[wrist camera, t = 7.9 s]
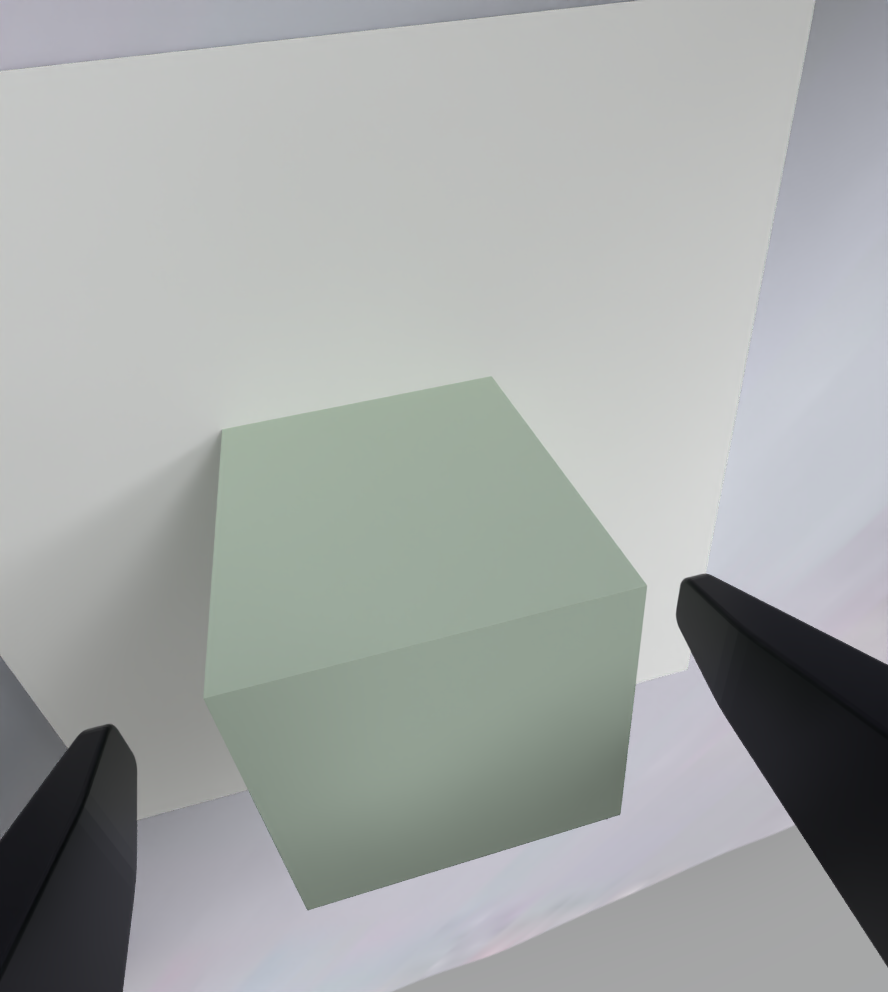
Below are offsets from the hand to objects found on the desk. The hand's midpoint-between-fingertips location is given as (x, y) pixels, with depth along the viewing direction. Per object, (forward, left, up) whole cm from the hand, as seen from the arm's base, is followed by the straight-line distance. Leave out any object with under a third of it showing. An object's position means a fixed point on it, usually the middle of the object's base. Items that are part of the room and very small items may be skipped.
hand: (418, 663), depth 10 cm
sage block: (0, 0, -4) cm, 4 cm away
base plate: (0, 0, -6) cm, 6 cm away
